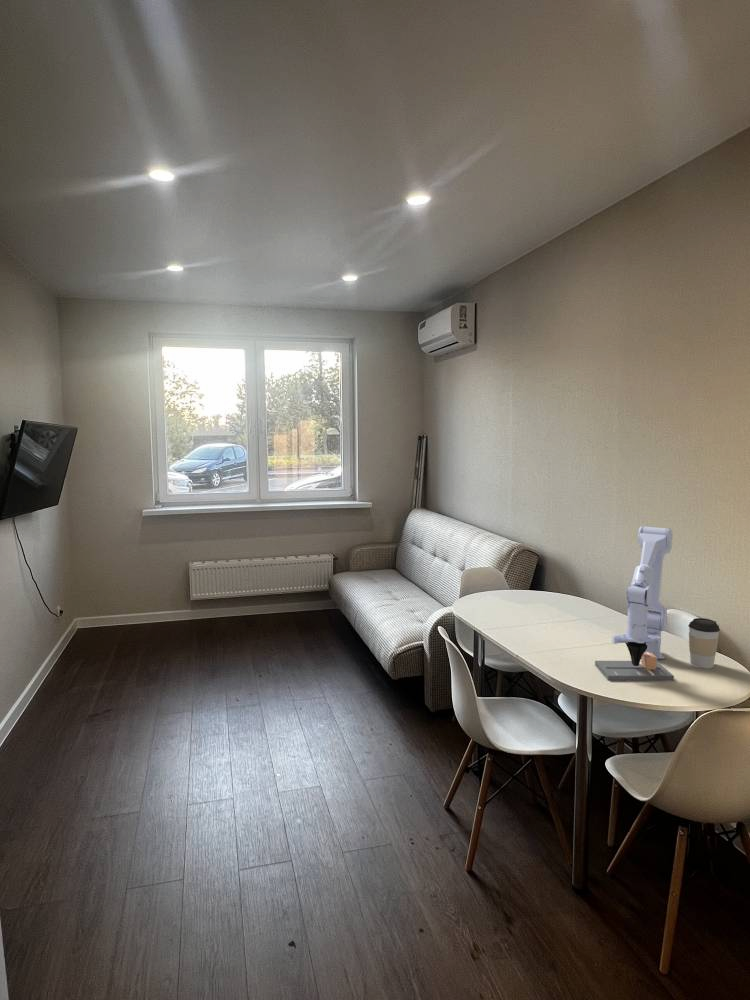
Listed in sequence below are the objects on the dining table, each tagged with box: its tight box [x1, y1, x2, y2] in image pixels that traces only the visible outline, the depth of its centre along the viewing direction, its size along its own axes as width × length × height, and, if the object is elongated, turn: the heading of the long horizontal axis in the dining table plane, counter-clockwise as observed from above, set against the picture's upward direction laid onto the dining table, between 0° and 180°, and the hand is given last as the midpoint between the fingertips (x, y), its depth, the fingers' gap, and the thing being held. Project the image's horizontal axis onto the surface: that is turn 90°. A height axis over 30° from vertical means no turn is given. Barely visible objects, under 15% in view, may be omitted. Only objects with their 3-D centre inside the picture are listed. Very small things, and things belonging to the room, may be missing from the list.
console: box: [594, 660, 675, 682], centre depth 191 cm, size 12×20×2 cm, turn 88°
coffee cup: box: [688, 617, 721, 669], centre depth 196 cm, size 9×9×15 cm
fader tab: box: [640, 652, 658, 670], centre depth 190 cm, size 4×3×4 cm
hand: (635, 664), depth 190 cm, fingers closed
